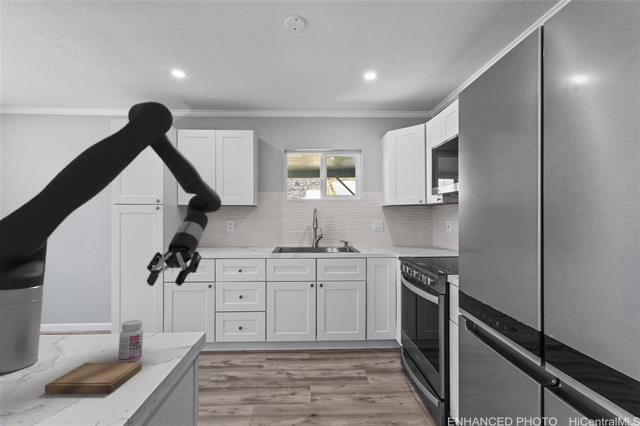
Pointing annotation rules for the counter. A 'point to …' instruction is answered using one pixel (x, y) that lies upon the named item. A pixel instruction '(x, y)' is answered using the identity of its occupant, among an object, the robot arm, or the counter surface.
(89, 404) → the counter surface
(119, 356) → the pill bottle
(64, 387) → the walnut tray
